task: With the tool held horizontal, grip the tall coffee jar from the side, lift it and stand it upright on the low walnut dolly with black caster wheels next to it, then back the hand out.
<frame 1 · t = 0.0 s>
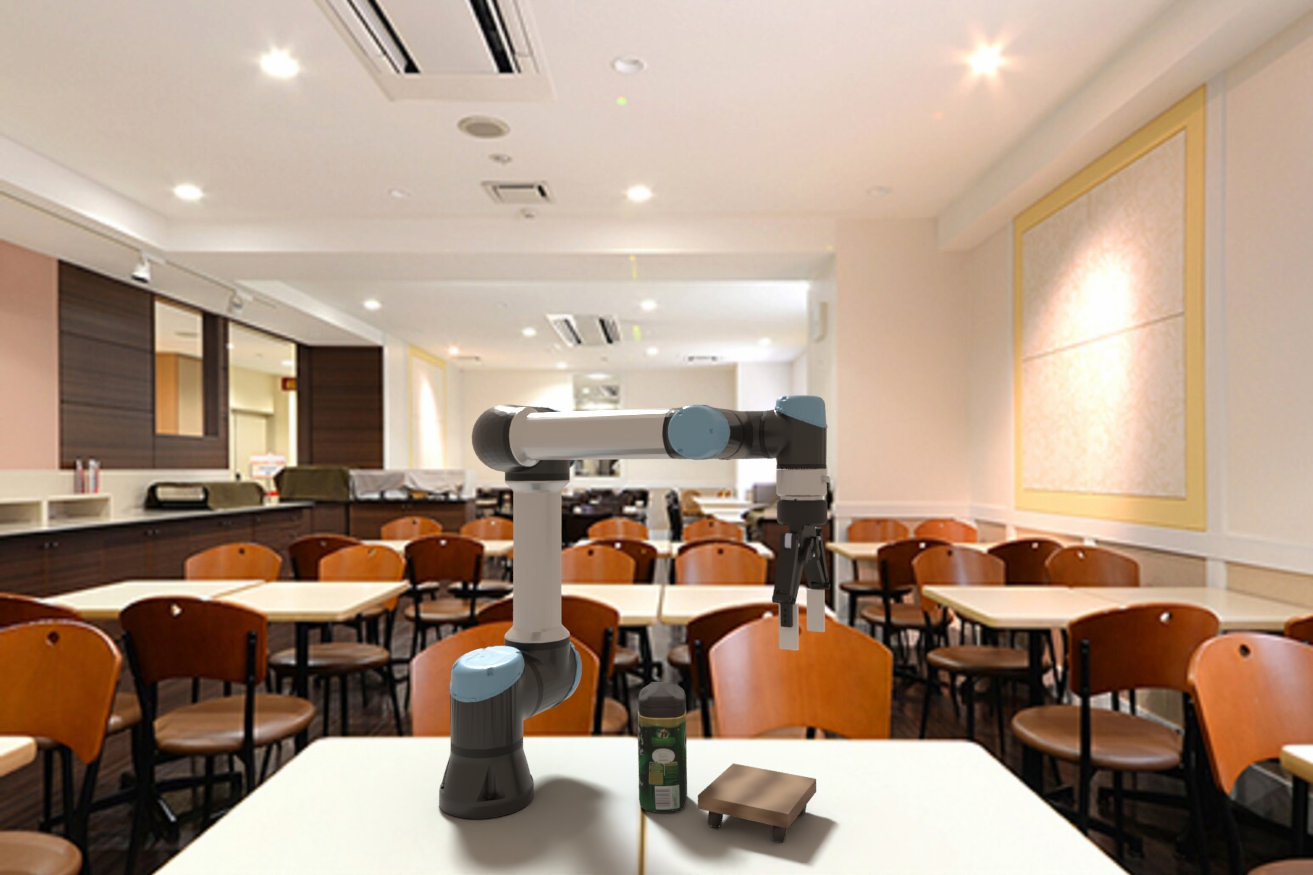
hand: (803, 639, 119), 28 cm above the table, tool pointing down, fingers open, 13 cm apart
coffee jar: (662, 803, 128), on the table
caster dolly: (758, 819, 121), on the table
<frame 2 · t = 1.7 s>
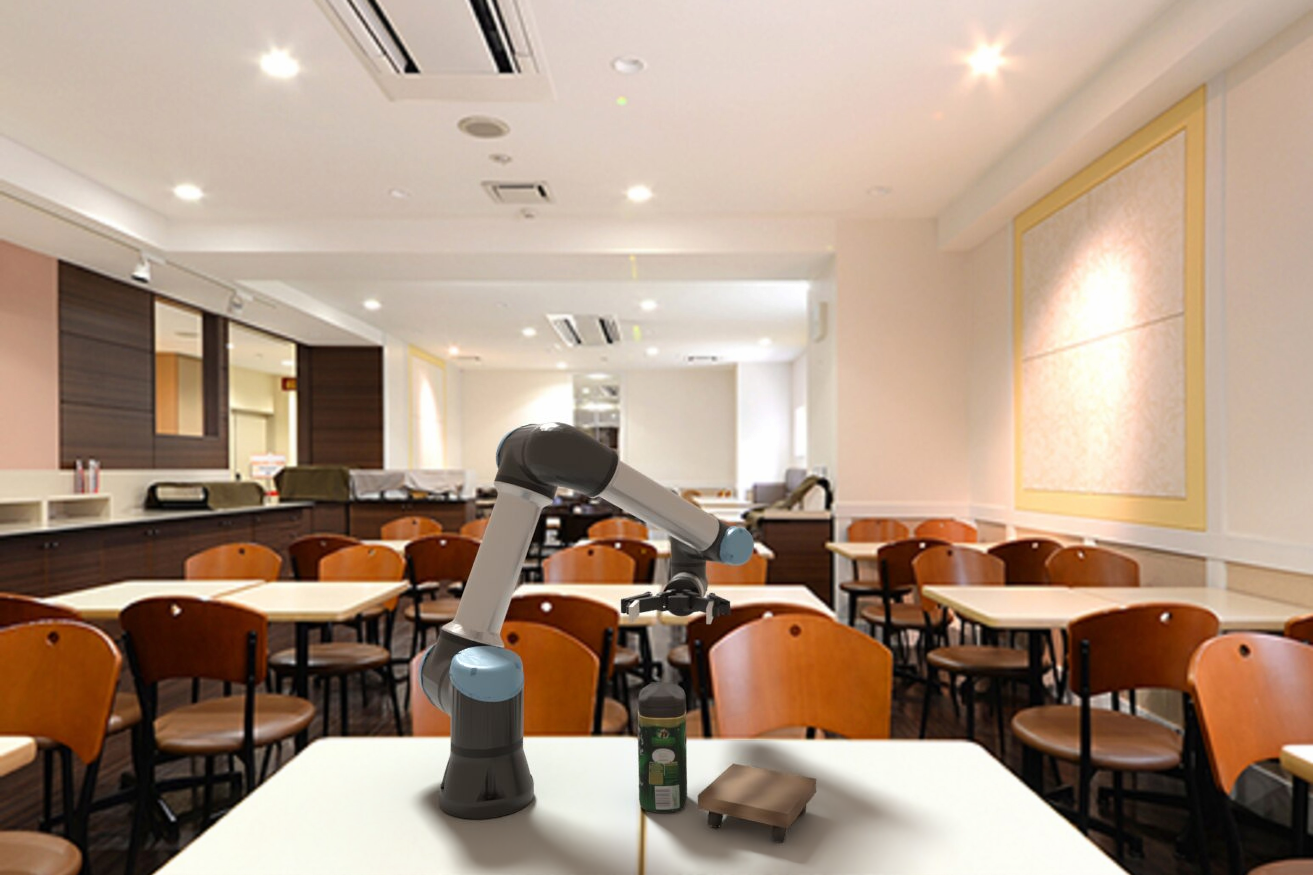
hand: (669, 615, 138), 28 cm above the table, tool horizontal, fingers open, 13 cm apart
nothing on the table moved.
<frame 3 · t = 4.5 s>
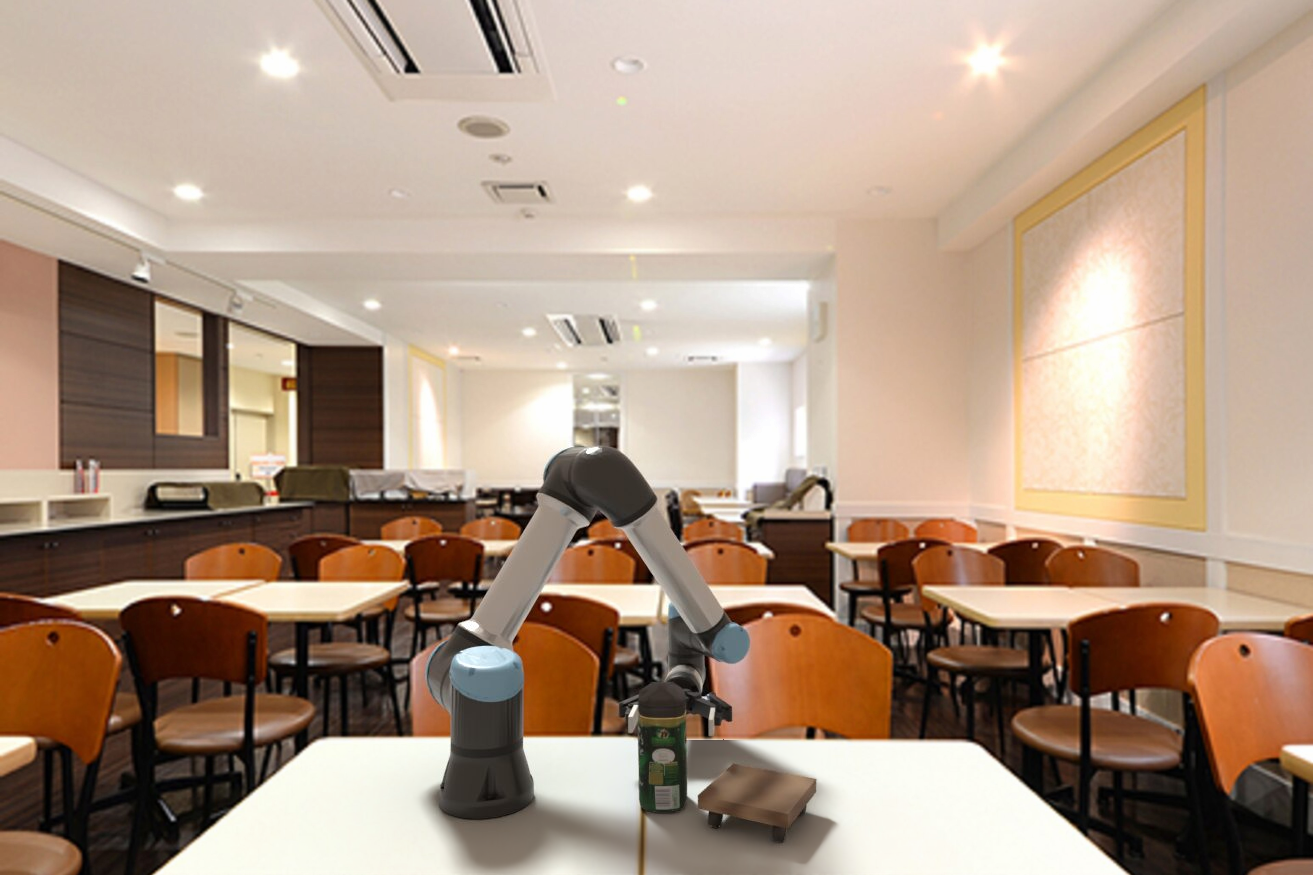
hand: (670, 726, 133), 10 cm above the table, tool horizontal, fingers open, 13 cm apart
nothing on the table moved.
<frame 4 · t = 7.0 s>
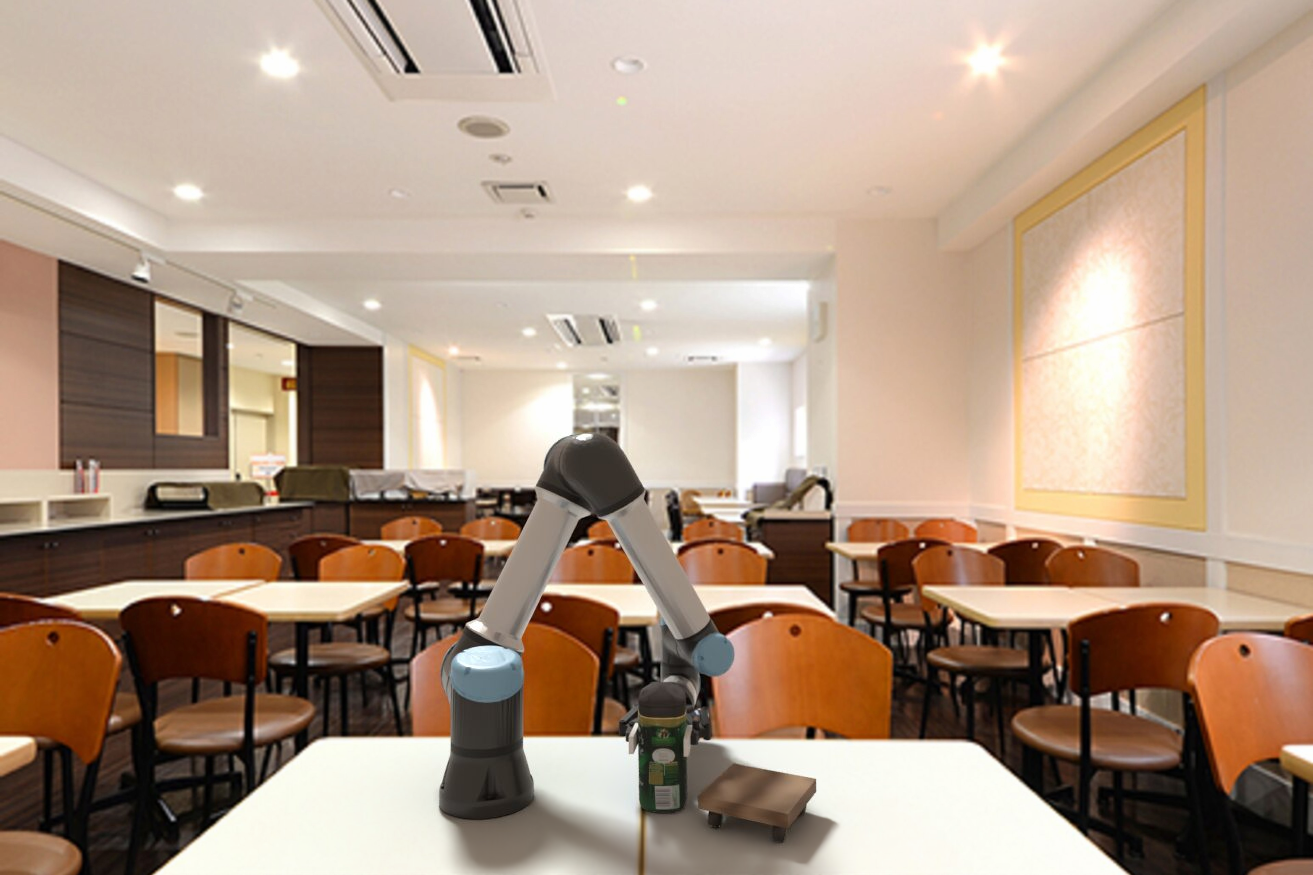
hand: (658, 746, 123), 11 cm above the table, tool horizontal, fingers closed on coffee jar, 8 cm apart
coffee jar: (662, 803, 128), on the table, touching gripper
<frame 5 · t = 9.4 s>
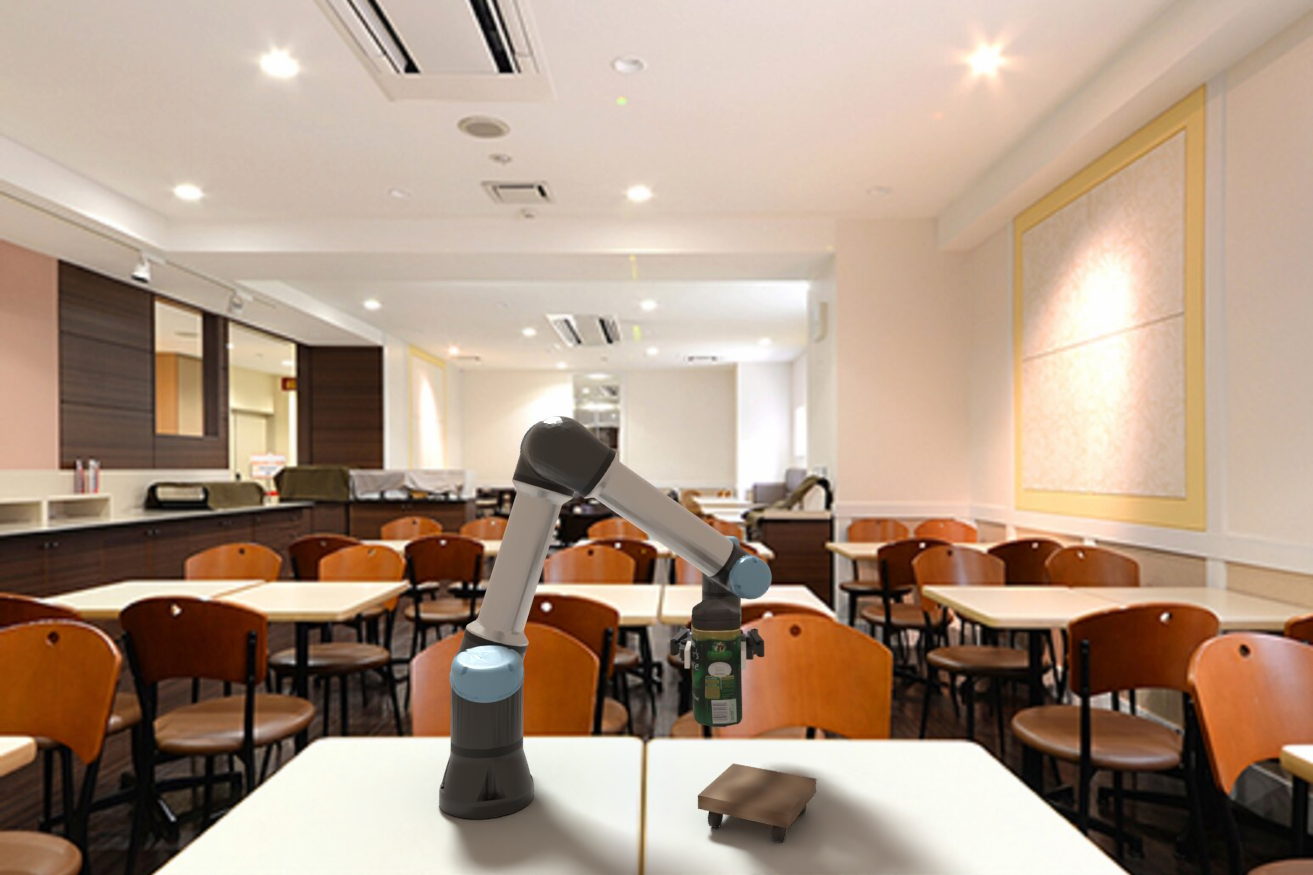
hand: (715, 659, 121), 25 cm above the table, tool horizontal, fingers closed on coffee jar, 8 cm apart
coffee jar: (717, 720, 126), point 14 cm above the table, touching gripper
when the fingers open (17 cm above the table, at t = 12.0 s): coffee jar drops 1 cm, resting on caster dolly.
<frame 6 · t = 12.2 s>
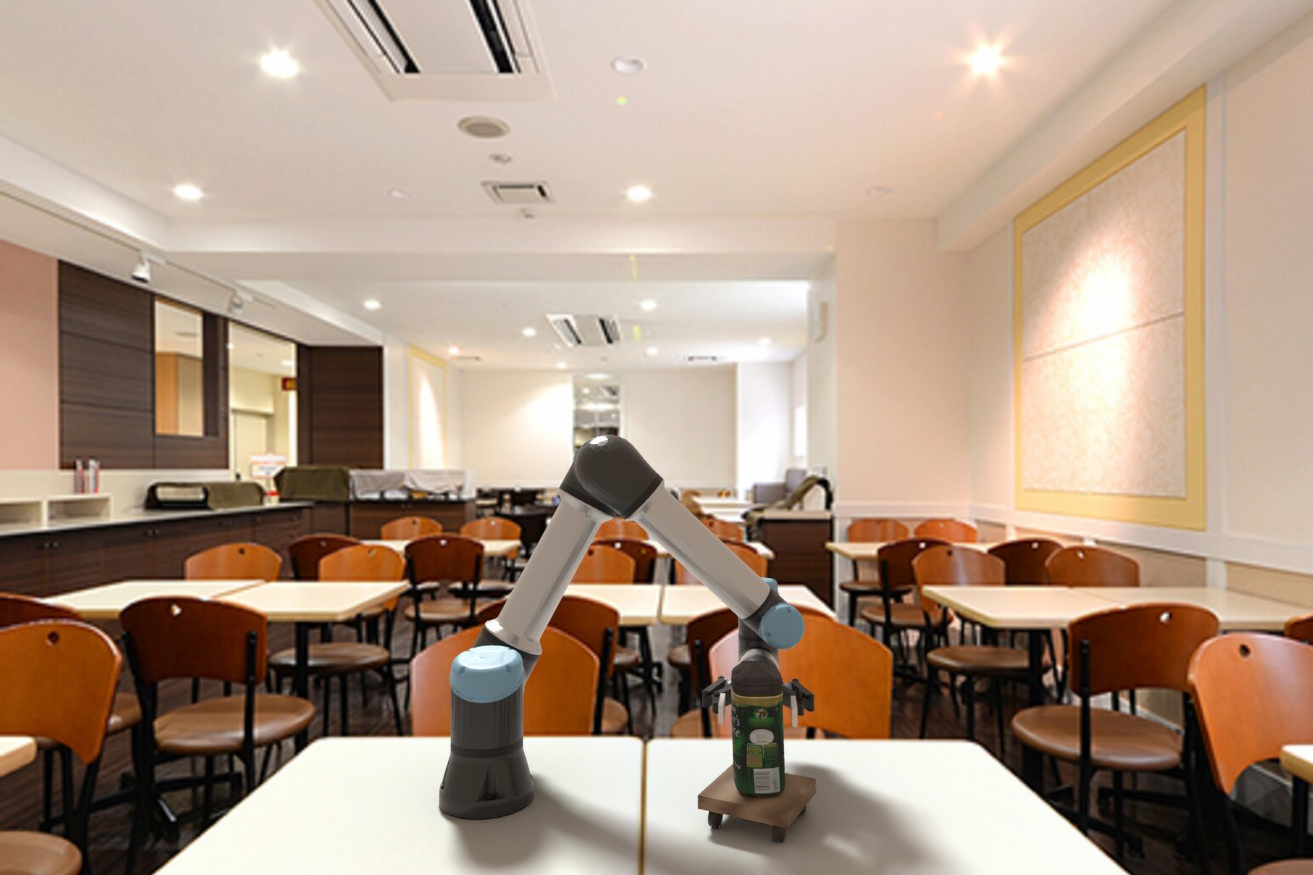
hand: (757, 716, 117), 17 cm above the table, tool horizontal, fingers open, 10 cm apart
coffee jar: (758, 787, 121), point 5 cm above the table, touching caster dolly
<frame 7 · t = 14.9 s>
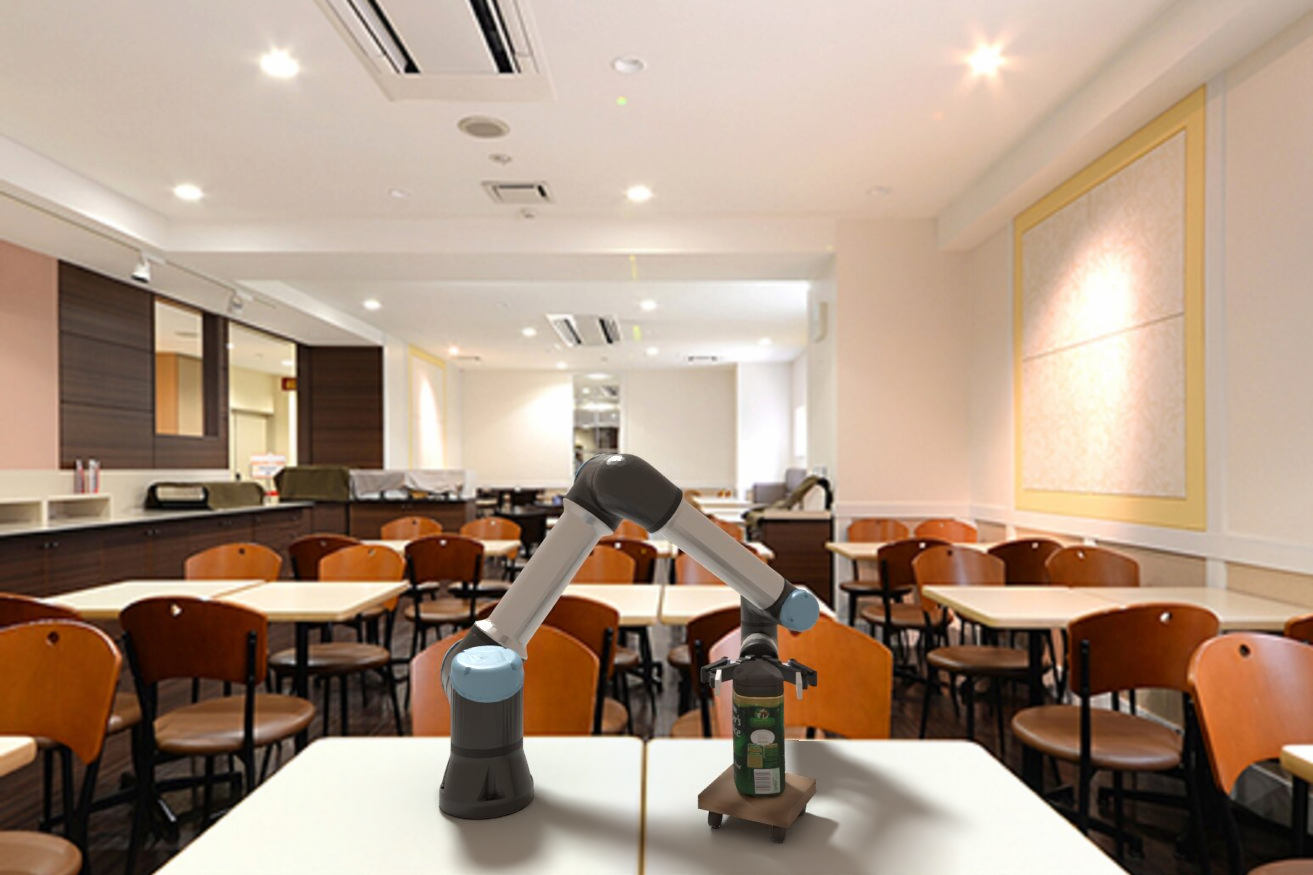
hand: (758, 689, 131), 17 cm above the table, tool horizontal, fingers open, 13 cm apart
nothing on the table moved.
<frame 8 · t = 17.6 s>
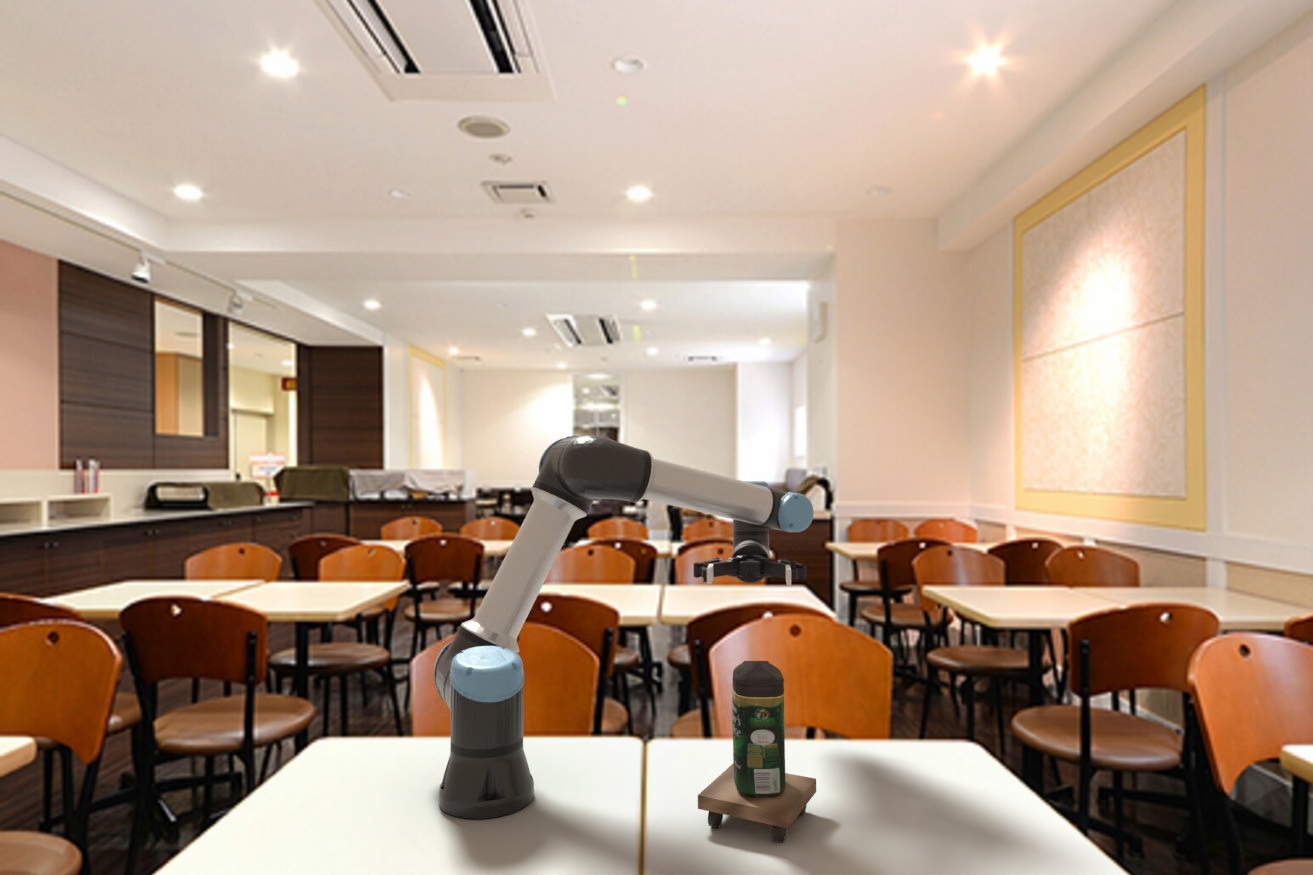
hand: (748, 577, 135), 35 cm above the table, tool horizontal, fingers open, 13 cm apart
nothing on the table moved.
at the end: coffee jar inside the target area on the caster dolly (0.1 cm from its centre), point 4.8 cm above the caster dolly's base; coffee jar tilted 0°; the gripper is holding nothing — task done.
